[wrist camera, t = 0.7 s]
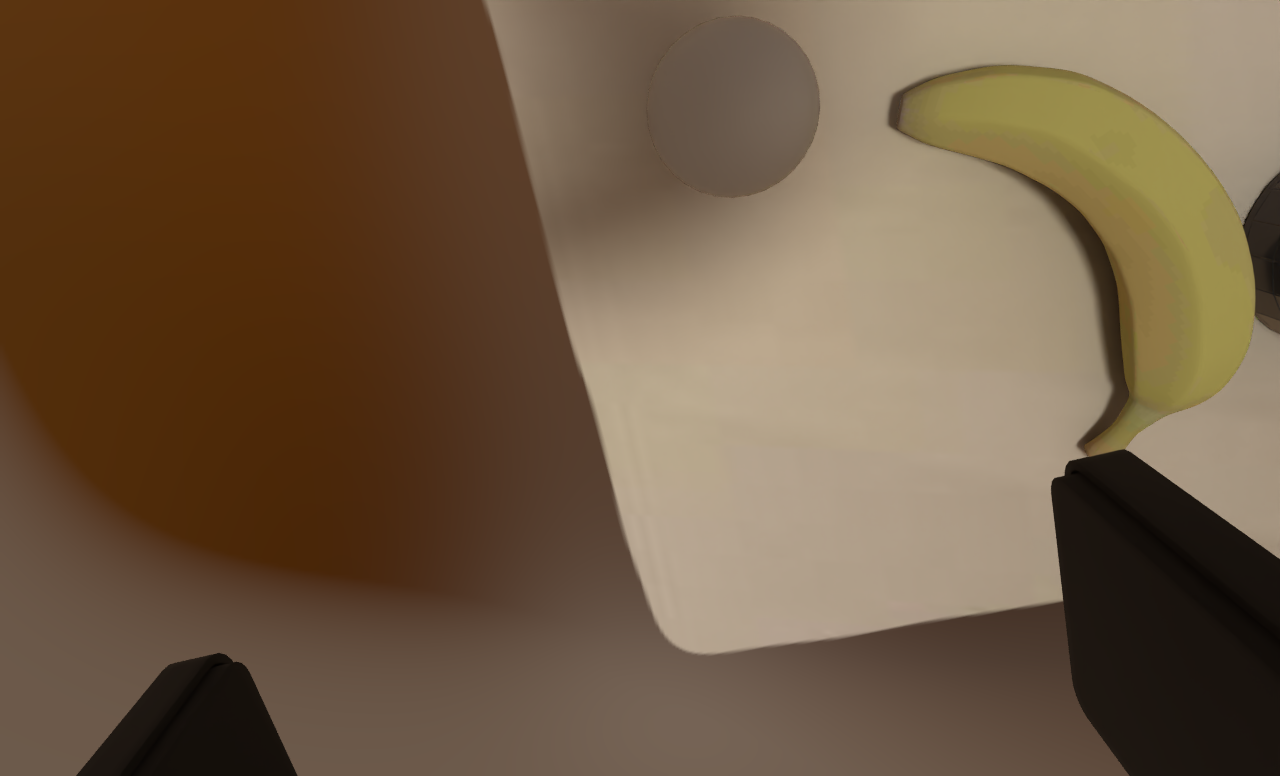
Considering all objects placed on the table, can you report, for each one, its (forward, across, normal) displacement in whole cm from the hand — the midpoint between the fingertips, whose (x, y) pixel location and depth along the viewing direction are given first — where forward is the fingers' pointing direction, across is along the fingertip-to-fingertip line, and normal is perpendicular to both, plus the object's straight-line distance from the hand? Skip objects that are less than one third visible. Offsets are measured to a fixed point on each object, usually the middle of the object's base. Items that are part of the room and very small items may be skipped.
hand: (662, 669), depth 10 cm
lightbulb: (+32, -4, -5) cm, 33 cm away
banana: (+32, -18, +6) cm, 38 cm away
